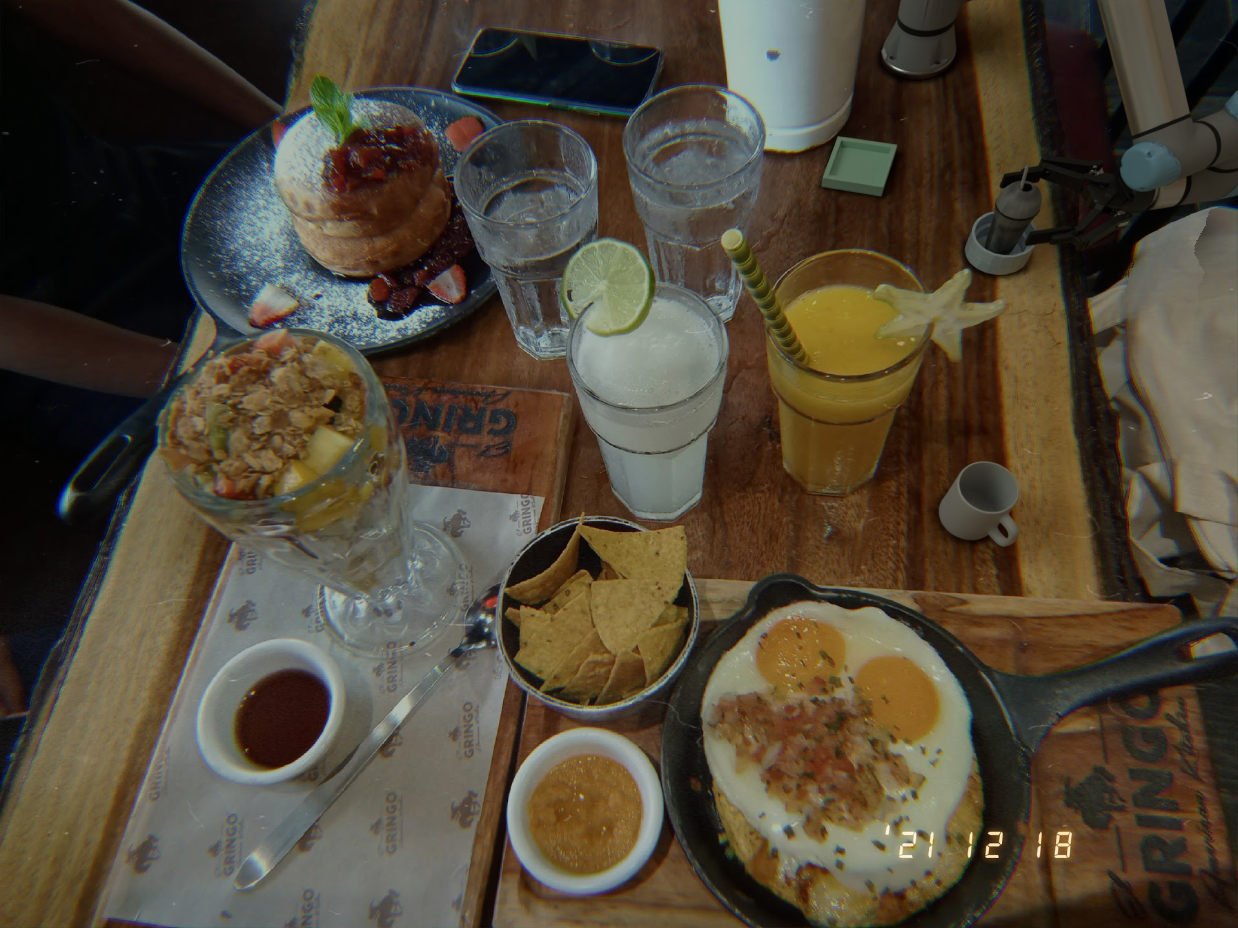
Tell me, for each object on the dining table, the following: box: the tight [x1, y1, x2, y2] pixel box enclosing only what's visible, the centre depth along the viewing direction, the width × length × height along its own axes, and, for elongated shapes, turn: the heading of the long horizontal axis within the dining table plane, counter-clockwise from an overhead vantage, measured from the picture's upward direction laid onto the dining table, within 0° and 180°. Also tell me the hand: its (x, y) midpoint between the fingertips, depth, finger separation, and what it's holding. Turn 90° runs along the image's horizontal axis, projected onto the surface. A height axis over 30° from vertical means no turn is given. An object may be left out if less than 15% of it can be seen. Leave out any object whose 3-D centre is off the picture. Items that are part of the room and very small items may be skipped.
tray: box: [821, 136, 898, 197], centre depth 148 cm, size 12×12×2 cm
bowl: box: [964, 210, 1038, 276], centre depth 134 cm, size 11×11×5 cm
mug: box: [938, 461, 1020, 547], centre depth 109 cm, size 12×8×11 cm
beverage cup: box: [984, 163, 1043, 255], centre depth 127 cm, size 7×7×20 cm
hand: (1014, 209), depth 126 cm, fingers open, 13 cm apart
